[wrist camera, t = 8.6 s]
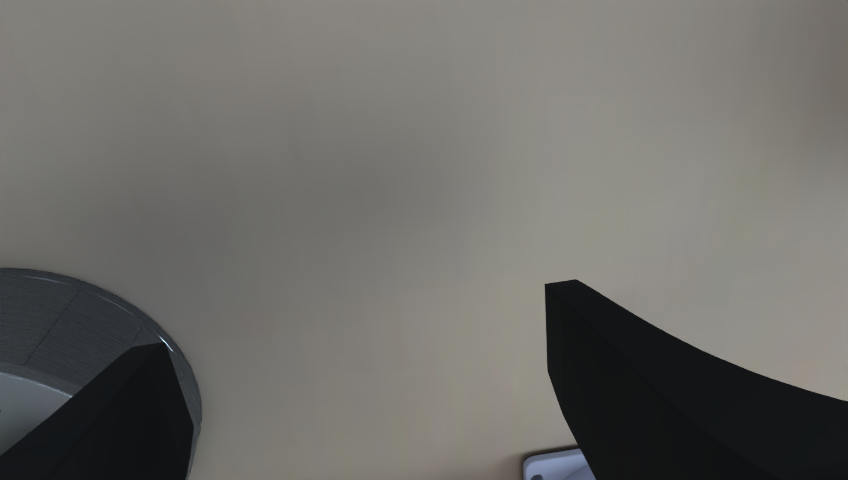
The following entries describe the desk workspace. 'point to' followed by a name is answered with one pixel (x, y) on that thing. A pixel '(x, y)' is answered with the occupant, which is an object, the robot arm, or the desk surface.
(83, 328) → the tin
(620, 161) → the desk surface
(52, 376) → the lid
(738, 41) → the desk surface
